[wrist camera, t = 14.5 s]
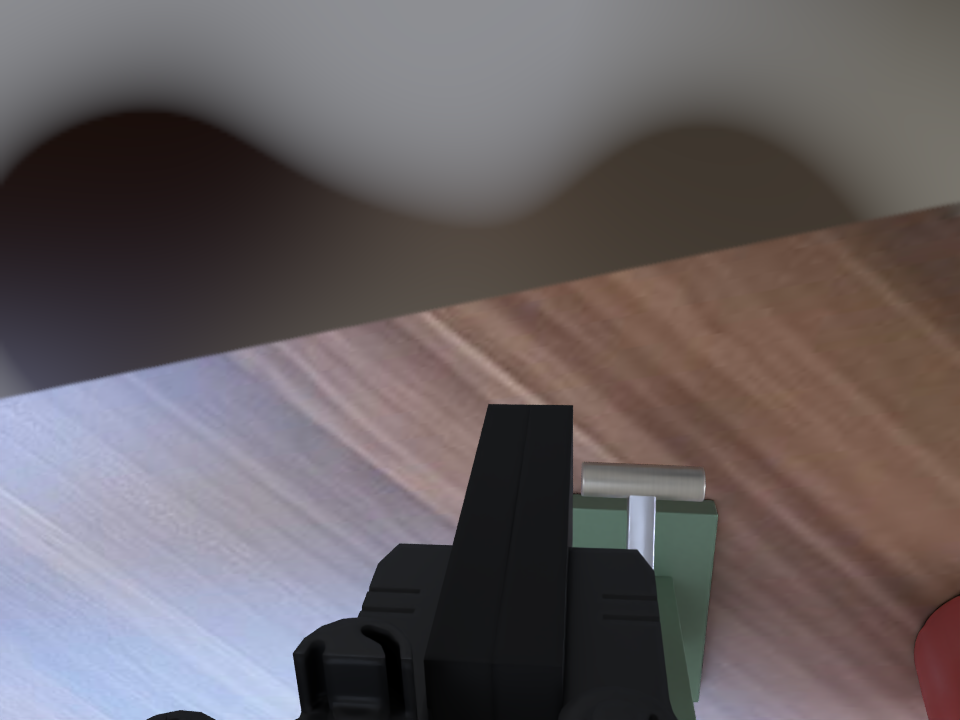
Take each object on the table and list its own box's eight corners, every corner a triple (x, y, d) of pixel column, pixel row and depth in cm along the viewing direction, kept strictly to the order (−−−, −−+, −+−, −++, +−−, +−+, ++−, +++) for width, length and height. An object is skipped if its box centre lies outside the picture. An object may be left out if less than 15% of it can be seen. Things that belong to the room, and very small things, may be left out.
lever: (581, 458, 37) (582, 465, 35) (699, 463, 37) (708, 470, 34) (571, 781, 38) (571, 810, 35) (688, 791, 37) (697, 821, 35)
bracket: (539, 491, 45) (524, 676, 33) (714, 499, 45) (768, 693, 32) (536, 673, 50) (521, 898, 37) (695, 683, 49) (736, 918, 36)
